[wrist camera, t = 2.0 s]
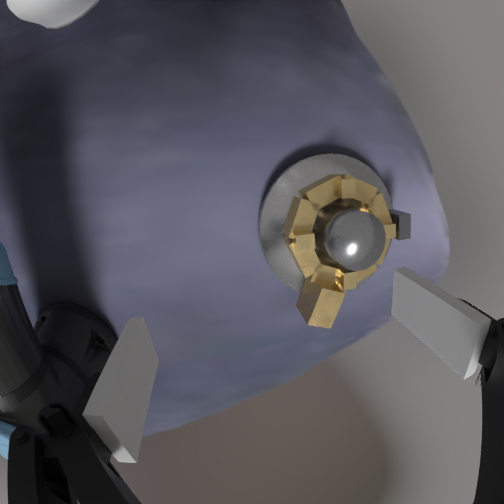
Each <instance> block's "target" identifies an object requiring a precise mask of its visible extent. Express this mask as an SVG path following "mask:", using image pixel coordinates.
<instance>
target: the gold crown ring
mask: <svg viewBox="0 0 504 504" xmlns="http://www.w3.org/2000/svg"><path fill="white" fill-rule="evenodd" d="M298 192H299V194H300V196H301V198H299V197H295V196H293V200H292V203H291V206H290V209H289V212H288V215H287V219H286V222H285V225H284V228H283V231H282V232H283V233H284V234H285V235H286V236H287V237H285V238H283V240H284V242H285V244H286V246H287V248H288V250H289V252H290V254H291V256H292V258H293V260H294V262H295V264H296V266H297V268H298V269H299V271H300V272H301V273H302V274H303V275H304V277H305V278H306V280H305V283H304V286H303V288H302V291H301V294H300V296H299V299H298V302H297V304H296V306H297V308H298V309H299V311H300V313H301V314H302V316H303V318H304V319H305V321H306V323H307V324H308V325H312V326H318V327H324V328H330V329H331V327H332V324H333V322H334V320H335V318H336V315H337V313H338V311H339V308H340V306H341V304H342V301H343V299H344V296H345V294H346V293H345V292H344V291H343V290H348V289H353V288H356V283H358V282H359V281H361V280H363V279H364V278H366V277H367V276H369V275H371V274H372V273H374V272H375V271H377V267H376V264H379V265H381V264H382V262H383V259H384V256H385V254H386V251H387V248H388V245H389V242H390V240H391V238H396V224H394V223H392V220H391V217H390V214H389V211H388V208H387V205H386V203H385V200H384V197H383V194H382V192H377V187H375V186H372V185H370V184H368V183H365V182H363V181H361V180H358V179H356V178H354V177H351V176H349V175H347V174H329V175H327V176H325V177H323V178H321V179H319V180H317V181H315V182H313V183H312V184H310V185H308V186H306V187H304V188H302V189H300V190H298ZM338 198H342V199H346V198H348V199H351V200H353V201H356V202H357V204H358V206H359V209H360V210H361V211H365V212H368V213H371V214H373V215H375V216H376V217H377V218H378V219H379V220H380V221H381V222H382V224H383V226H384V229H385V234H386V243H385V247H384V250H383V253H382V255H381V257H380V258H379V259H378V261H377V262H376V264H374V265H372V266H371V267H369V268H368V269H365V270H362V271H352V270H349V269H347V268H345V267H344V266H342V265H341V264H340V263H338V262H337V263H333V262H330V261H326V260H322V259H319V258H318V257H317V255H316V252H315V250H314V249H315V233H313V232H312V229H313V226H314V223H315V219H316V216H317V213H318V210H319V209H320V208H322V207H323V206H325V205H327V204H329V203H331V202H332V201H334V200H336V199H338ZM342 289H343V290H342Z"/></svg>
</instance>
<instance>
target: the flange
mask: <svg viewBox="0 0 504 504" xmlns="http://www.w3.org/2000/svg"><path fill="white" fill-rule="evenodd" d="M329 174H347V175H349V176H351V177H354V178H356V179H358V180H361V181H363V182H365V183H368V184H370V185H372V186H375V187H377V192H382V194H383V197H384V200H385V203H386V205H387V208H388V211H389V214H390V217H391V220H392V223H394V224H396V238H395V239H398V240H403V239H409V238H410V232H411V214H409V213H405V212H401V211H397V210H393V206H392V202H391V199H390V196H389V193H388V191H387V189H386V187H385V185H384V184H383V182H382V180H381V179H380V178H379V177H378V175H377V174H376V173H375V172H374V171H373V170H372V169H371V168H370V167H368V166H367V165H366V164H364V163H363V162H361V161H359V160H357V159H355V158H352V157H349V156H346V155H341V154H320V155H314V156H310V157H307V158H304V159H302V160H299V161H297V162H295V163H294V164H292V165H290V166H289V167H287V168H286V169H285V170H284V171H283V172H281V173H280V175H279V176H278V177H277V178H276V179H275V180H274V181H273V183H272V184H271V186H270V187H269V189H268V191H267V193H266V194H265V197H264V199H263V202H262V205H261V209H260V213H259V221H258V234H259V240H260V245H261V248H262V251H263V254H264V256H265V258H266V260H267V262H268V264H269V265H270V267H271V268H272V270H273V272H274V273H275V274H276V275H277V276H278V278H279V279H280V280H281V281H282V282H284V283H285V284H286V285H287V286H289V287H290V288H292V289H293V290H295V291H297V292H299V293H301V291H302V288H303V286H304V283H305V280H306V278H305V277H304V275H303V274H302V273H301V272H300V271H299V269H298V268H297V266H296V264H295V262H294V260H293V258H292V256H291V254H290V252H289V250H288V248H287V246H286V244H285V242H284V240H283V238H285V237H287V236H286V235H285V234H284V233H283V232H282V231H283V228H284V225H285V222H286V219H287V215H288V212H289V209H290V206H291V203H292V200H293V196H295V197H299V198H301V196H300V194H299V192H298V190H300V189H302V188H304V187H306V186H308V185H310V184H312V183H313V182H315V181H317V180H319V179H321V178H323V177H325V176H327V175H329ZM312 232H313V233H315V249H314V250H315V252H316V255H317V257H318V258H319V259H322V260H326V261H330V262H333V263H337V262H338V263H340V264H341V265H342V266H344V267H345V268H347V269H349V270H352V271H362V270H365V269H368V268H369V267H371V266H372V265H374V264H376V262H377V261H378V259H379V258H380V257H381V255H382V253H383V250H384V247H385V243H386V234H385V229H384V226H383V224H382V222H381V221H380V220H379V219H378V218H377V217H376V216H375V215H373V214H371V213H368V212H365V211H361V210H360V209H359V206H358V204H357V202H356V201H353V200H351V199H348V198H346V199H342V198H338V199H336V200H334V201H332V202H331V203H329V204H327V205H325V206H323V207H322V208H320V209H319V210H318V213H317V216H316V219H315V223H314V226H313V229H312ZM391 241H392V238H391V240H390V242H389V245H388V248H387V251H386V254H385V256H384V259H385V257H386V255H387V252H388V250H389V248H390V244H391ZM384 259H383V260H384ZM376 267H377V269H378V268H379V267H380V265H379V264H376ZM375 272H376V271H375ZM375 272H374V273H375ZM374 273H372V274H371V275H369V276H367V277H366V278H364V279H363V280H361V281H359V282H358V283H356V288H357V287H359V286H360V285H362V284H363V283H365V282H366V281H367V280H368V279H369V278H370V277H371V276H372V275H373V274H374ZM356 288H353V289H348V290H343V289H342V290H343V291H344V292H345V293H347V292H350V291H352V290H354V289H356Z"/></svg>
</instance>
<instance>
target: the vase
mask: <svg viewBox="0 0 504 504" xmlns="http://www.w3.org/2000/svg"><path fill="white" fill-rule="evenodd" d="M99 1H100V0H7V5H8V8H9V9H10V10H11V11H12V12H13V13H14V14H15V15H16V16H17V17H19V18H20V19H22V20H25V21H28V22H32V23H36V24H40V25H42V26H44V27H46V28H47V29H59V28H62V27H65V26H68V25H70V24H72V23H74V22H75V21H77V20H78V19H80V18H82V17H84V16H85V15H86V14H87V13H88V12H89V11H90V10H91V9H93V8H94V7H95V6H96V5H97V4H98V2H99Z"/></svg>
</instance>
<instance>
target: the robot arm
mask: <svg viewBox="0 0 504 504" xmlns="http://www.w3.org/2000/svg"><path fill="white" fill-rule="evenodd" d="M17 283H18V280H17V278H16V277H15V276H14V274H13V271H12V268H11V265H10V262H9V259H8V255H7V252H6V249H5V247H4V246H3V244H2V243H1V242H0V455H2V456H3V457H4V458H6V459H7V460H8V504H78V502H79V503H80V504H142V503H141V502H140V501H139V500H138V499H137V497H136V496H135V495H134V494H133V492H132V491H131V490H130V488H129V487H128V486H127V484H126V483H125V482H124V480H123V479H122V477H121V476H120V474H119V473H118V472H117V470H116V469H115V467H114V466H113V464H112V463H111V462H110V458H111V454H113V456H114V457H115V458H116V459H117V460H118V461H119V462H129V463H137V459H138V453H139V448H140V443H141V438H142V433H143V428H144V423H145V419H146V414H147V410H148V405H149V401H150V396H151V392H152V388H153V384H154V380H155V375H156V371H157V367H158V363H159V360H158V357H157V354H156V352H155V349H154V346H153V344H152V341H151V338H150V335H149V332H148V329H147V327H146V324H145V321H144V318H143V317H137V318H129V320H128V322H127V324H126V326H125V327H124V329H123V331H122V333H121V335H120V337H119V339H118V341H117V339H116V337H115V336H114V334H113V333H112V331H111V330H110V328H109V327H108V326H107V325H106V324H105V323H104V322H103V321H102V320H101V319H100V318H99V317H98V316H96V315H95V314H94V313H92V312H91V311H89V310H87V309H86V308H83V307H81V306H79V305H76V304H72V303H57V304H54V305H52V306H50V307H49V308H47V309H46V310H45V311H44V312H43V313H42V314H41V315H40V316H39V318H38V319H37V321H36V323H35V326H34V329H33V327H32V324H31V322H30V319H29V317H28V314H27V312H26V309H25V306H24V304H23V301H22V298H21V295H20V292H19V289H18V286H17ZM391 314H392V315H393V316H394V317H395V318H396V319H397V320H399V321H400V322H401V323H402V324H403V325H404V326H405V327H406V328H407V329H409V330H410V331H411V332H412V333H413V334H414V335H415V336H417V337H418V338H419V339H420V340H421V341H422V342H423V343H424V344H425V345H426V346H427V347H429V348H430V349H431V350H432V351H433V352H434V353H435V354H436V355H437V356H438V357H439V358H440V359H441V360H443V361H444V362H445V363H446V364H447V365H448V366H449V367H450V368H451V369H452V370H453V371H454V372H455V373H456V374H457V375H458V376H459V377H461V378H462V379H463V380H464V379H466V378H468V377H469V376H470V375H472V374H474V372H475V370H476V367H477V364H478V362H479V363H480V364H481V365H482V368H481V371H480V373H479V376H478V378H477V381H476V384H475V386H477V385H478V383H479V381H480V380H481V385H480V386H481V388H482V445H481V458H480V468H479V476H478V482H477V489H476V494H475V499H474V503H473V504H504V318H501V319H499V320H498V321H497V320H495V319H493V318H492V317H490V316H489V315H487V314H486V313H484V312H483V311H481V310H480V309H478V308H476V307H475V306H472V304H470V303H468V302H467V301H465V300H462V299H459V298H456V297H455V296H453V295H452V294H450V293H448V292H447V291H445V290H443V289H442V288H440V287H438V286H437V285H435V284H433V283H432V282H430V281H428V280H426V279H425V278H423V277H421V276H420V275H418V274H416V273H414V272H413V271H411V270H409V269H407V268H405V267H404V268H400V269H396V270H394V283H393V299H392V311H391ZM77 500H78V502H77Z"/></svg>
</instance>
